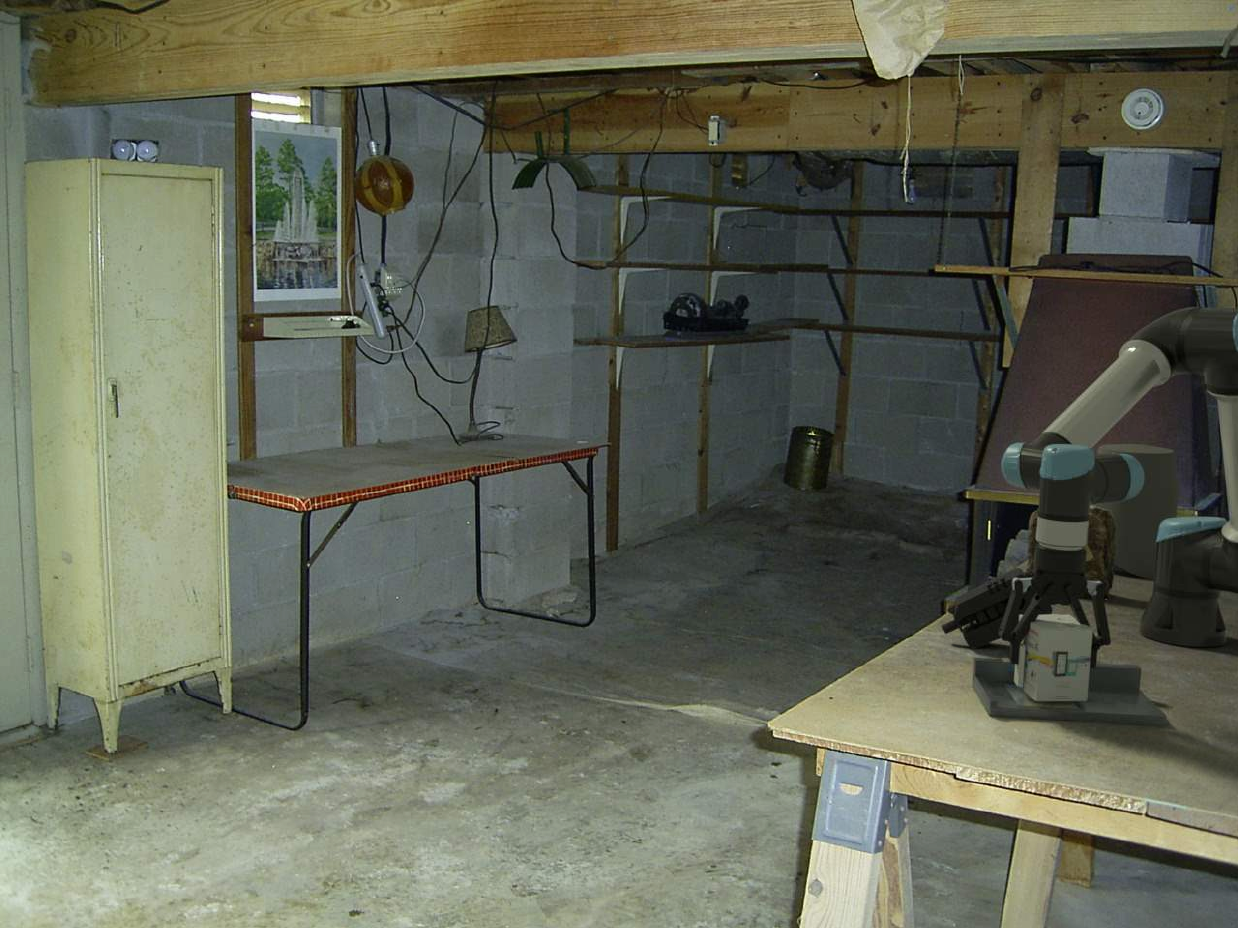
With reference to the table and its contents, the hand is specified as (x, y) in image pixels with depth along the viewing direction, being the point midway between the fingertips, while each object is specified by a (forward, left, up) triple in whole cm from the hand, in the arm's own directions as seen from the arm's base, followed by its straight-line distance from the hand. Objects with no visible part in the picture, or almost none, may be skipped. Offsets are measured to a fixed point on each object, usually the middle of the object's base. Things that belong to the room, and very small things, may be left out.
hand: (1050, 685), depth 190 cm
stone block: (-23, -77, -4) cm, 81 cm away
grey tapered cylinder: (-44, -105, -4) cm, 114 cm away
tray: (-3, 0, -3) cm, 4 cm away
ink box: (0, 0, -1) cm, 1 cm away
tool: (+1, -32, -4) cm, 33 cm away
